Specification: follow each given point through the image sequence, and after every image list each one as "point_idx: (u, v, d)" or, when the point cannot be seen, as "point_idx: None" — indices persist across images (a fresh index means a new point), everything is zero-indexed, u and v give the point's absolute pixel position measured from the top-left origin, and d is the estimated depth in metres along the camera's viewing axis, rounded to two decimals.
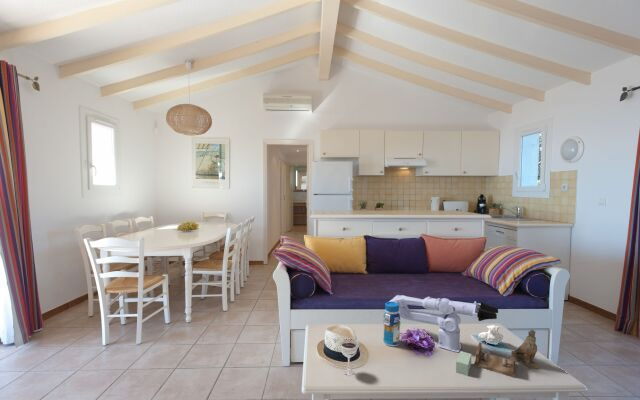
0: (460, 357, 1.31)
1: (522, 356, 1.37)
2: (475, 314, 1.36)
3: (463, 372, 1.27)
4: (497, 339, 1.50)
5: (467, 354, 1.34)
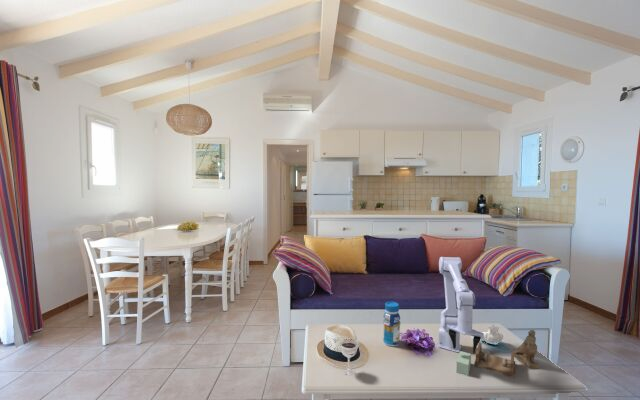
0: (460, 357, 1.31)
1: (522, 356, 1.37)
2: None
3: (463, 372, 1.27)
4: (497, 339, 1.50)
5: (467, 354, 1.34)
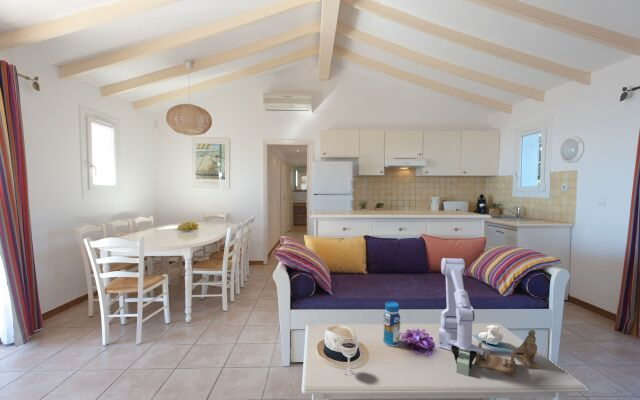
0: (460, 357, 1.31)
1: (522, 356, 1.37)
2: (446, 342, 1.35)
3: (463, 372, 1.27)
4: (497, 339, 1.50)
5: (467, 353, 1.34)
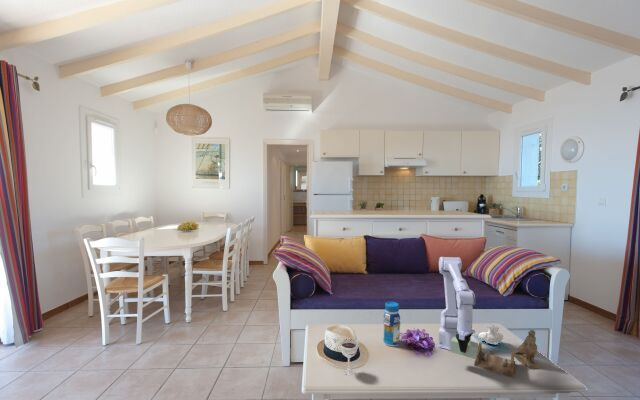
0: None
1: (522, 356, 1.37)
2: (463, 338, 1.25)
3: (477, 353, 1.29)
4: (497, 339, 1.50)
5: (455, 338, 1.34)
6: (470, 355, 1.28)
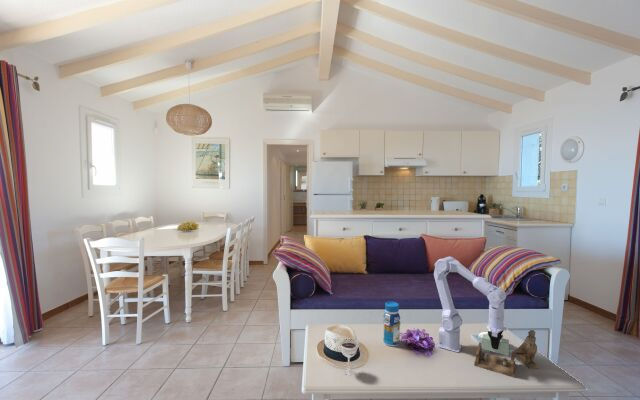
0: None
1: (522, 356, 1.37)
2: (496, 335, 1.28)
3: None
4: None
5: (486, 335, 1.37)
6: (502, 351, 1.31)
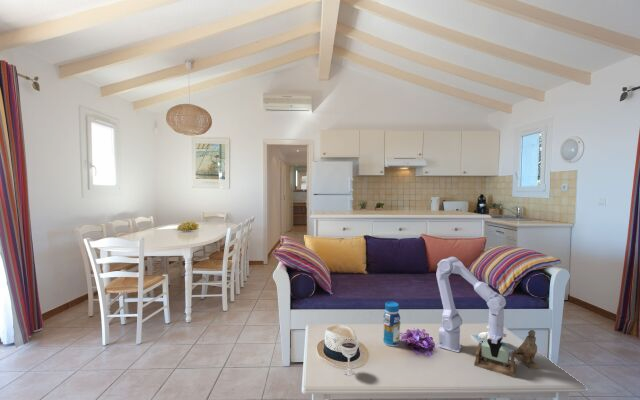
0: None
1: (522, 356, 1.37)
2: (495, 342, 1.28)
3: (508, 357, 1.32)
4: None
5: (486, 343, 1.37)
6: (501, 359, 1.31)
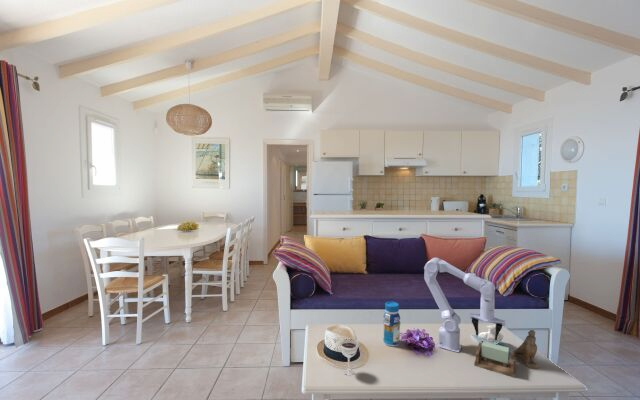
0: (497, 348, 1.33)
1: (522, 356, 1.37)
2: None
3: (508, 357, 1.32)
4: (497, 339, 1.50)
5: (486, 343, 1.37)
6: (501, 359, 1.31)
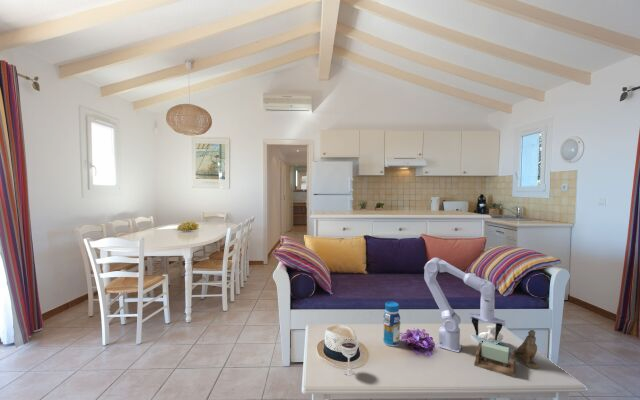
0: (497, 348, 1.33)
1: (522, 356, 1.37)
2: None
3: (508, 357, 1.32)
4: (497, 339, 1.50)
5: (486, 343, 1.37)
6: (501, 359, 1.31)
